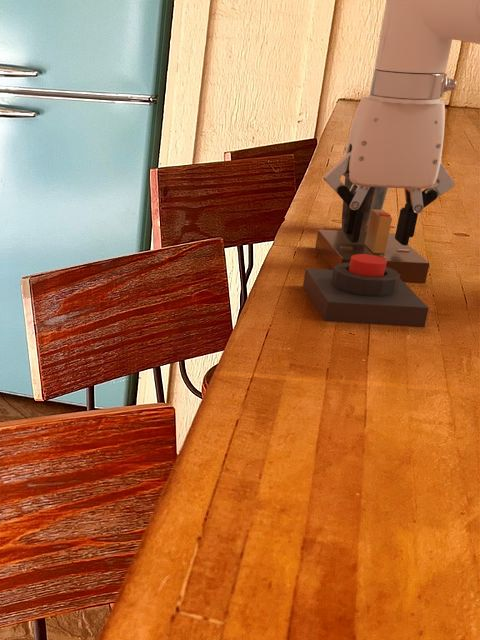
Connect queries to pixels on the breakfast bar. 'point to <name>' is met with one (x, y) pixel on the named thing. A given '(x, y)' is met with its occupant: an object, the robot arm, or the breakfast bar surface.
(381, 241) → the lock turn
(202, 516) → the breakfast bar surface
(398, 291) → the dark grey button base
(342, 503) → the breakfast bar surface
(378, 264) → the bell button
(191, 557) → the breakfast bar surface
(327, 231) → the plate
